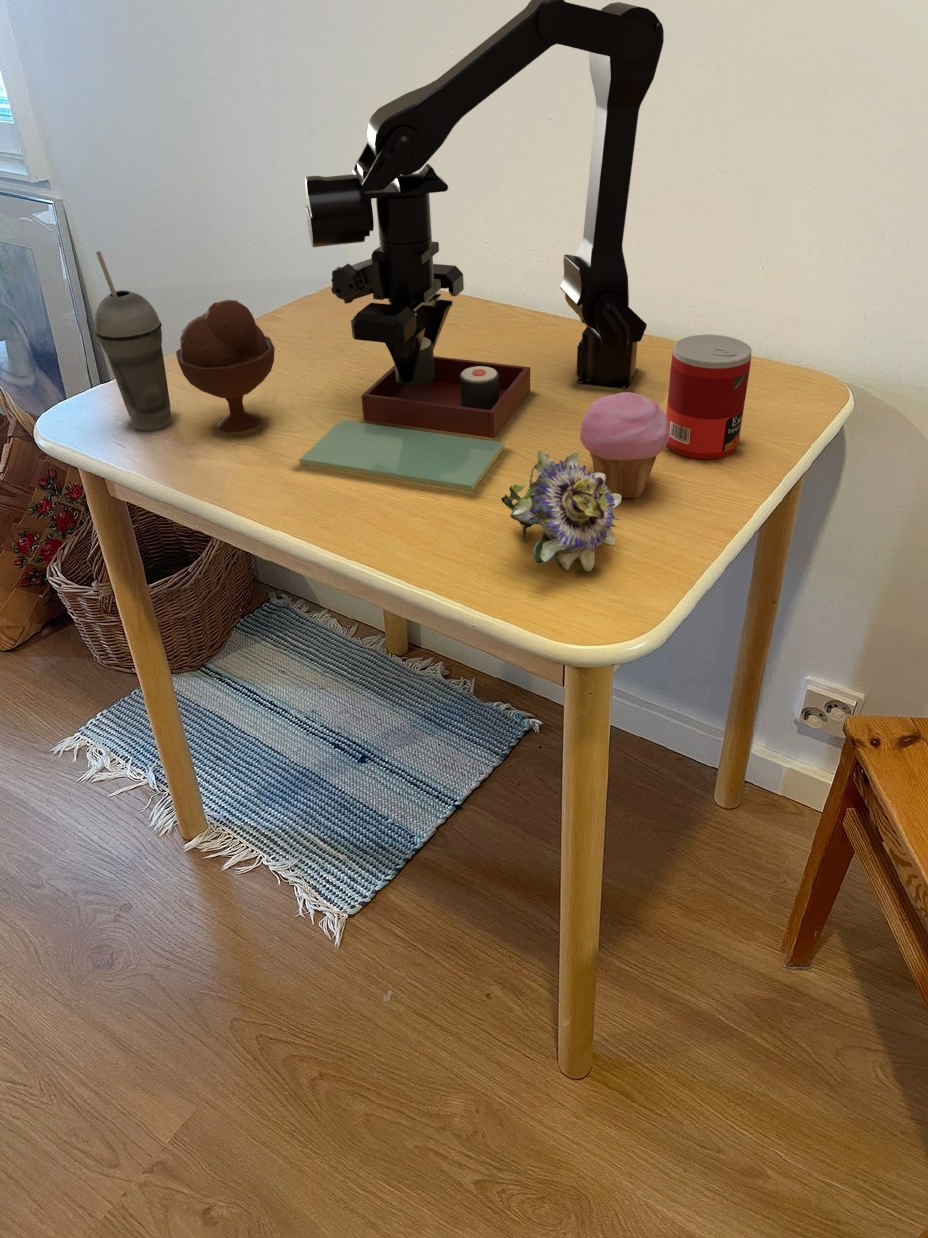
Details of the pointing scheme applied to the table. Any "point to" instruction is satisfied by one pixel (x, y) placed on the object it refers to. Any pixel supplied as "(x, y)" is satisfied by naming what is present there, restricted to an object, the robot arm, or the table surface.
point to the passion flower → (566, 511)
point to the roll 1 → (422, 366)
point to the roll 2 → (479, 387)
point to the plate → (404, 454)
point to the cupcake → (624, 440)
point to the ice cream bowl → (226, 359)
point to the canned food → (707, 395)
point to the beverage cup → (134, 354)
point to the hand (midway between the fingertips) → (415, 373)
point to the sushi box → (445, 399)
